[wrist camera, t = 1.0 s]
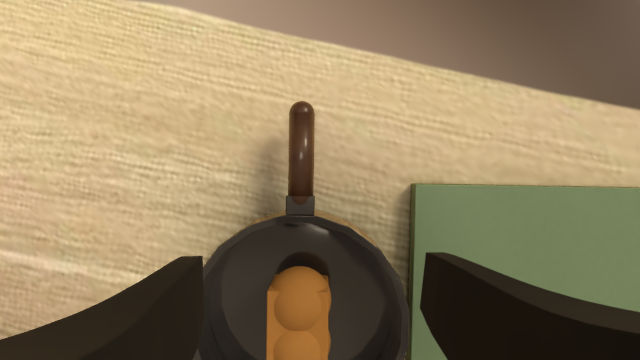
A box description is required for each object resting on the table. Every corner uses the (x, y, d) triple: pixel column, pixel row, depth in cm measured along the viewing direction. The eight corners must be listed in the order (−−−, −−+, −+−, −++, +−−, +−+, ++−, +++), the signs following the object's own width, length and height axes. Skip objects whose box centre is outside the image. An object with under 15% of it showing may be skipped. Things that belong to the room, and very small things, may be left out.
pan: (395, 403, 26) (406, 437, 23) (203, 398, 26) (186, 431, 23) (400, 211, 26) (412, 217, 22) (204, 207, 26) (187, 213, 23)
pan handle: (314, 212, 24) (314, 216, 22) (287, 212, 24) (285, 215, 22) (316, 103, 24) (316, 99, 22) (289, 103, 24) (286, 98, 22)
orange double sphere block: (329, 356, 26) (330, 393, 22) (270, 355, 26) (260, 391, 22) (331, 259, 26) (332, 277, 21) (272, 258, 26) (262, 276, 21)
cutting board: (683, 396, 26) (700, 407, 25) (405, 390, 26) (409, 400, 25) (694, 188, 26) (713, 189, 24) (411, 183, 26) (415, 184, 25)
